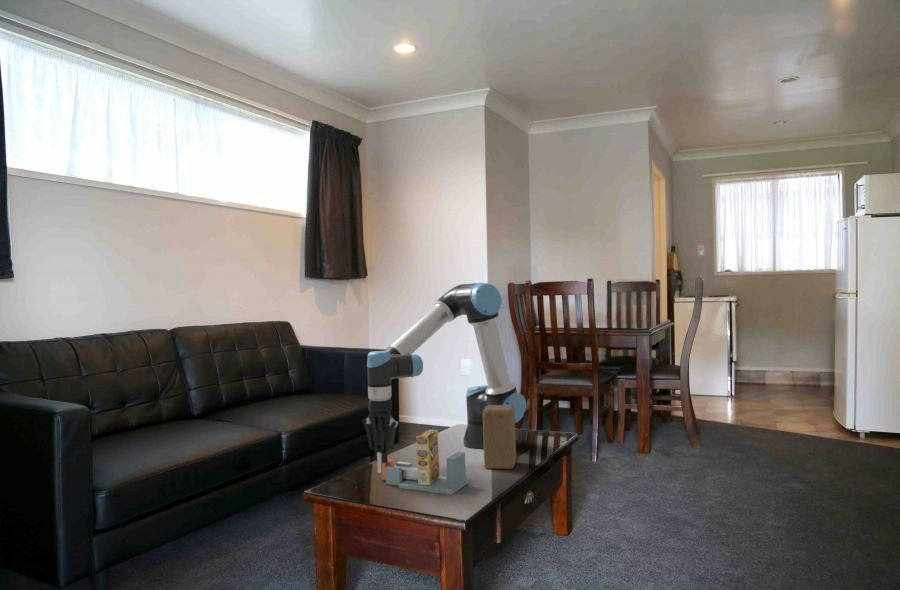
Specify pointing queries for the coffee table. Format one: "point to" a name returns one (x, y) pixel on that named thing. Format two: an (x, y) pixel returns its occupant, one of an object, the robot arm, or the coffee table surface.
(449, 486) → the press
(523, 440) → the coffee table surface
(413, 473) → the ram
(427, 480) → the candy box
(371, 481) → the coffee table surface
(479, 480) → the coffee table surface
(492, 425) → the wooden block
